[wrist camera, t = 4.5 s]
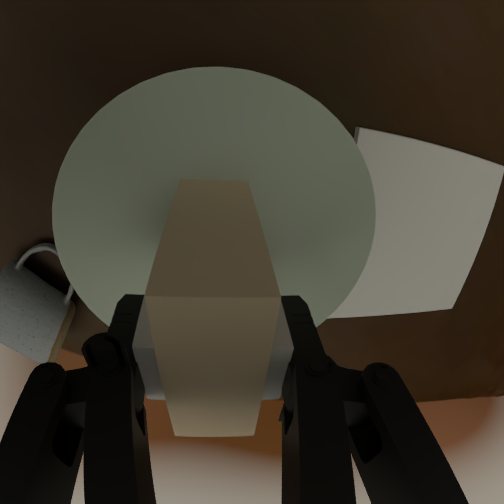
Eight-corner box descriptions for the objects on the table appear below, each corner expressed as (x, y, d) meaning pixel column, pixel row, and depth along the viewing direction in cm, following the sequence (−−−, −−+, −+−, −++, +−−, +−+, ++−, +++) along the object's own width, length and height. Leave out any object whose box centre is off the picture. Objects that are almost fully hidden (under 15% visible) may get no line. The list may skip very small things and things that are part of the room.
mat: (355, 126, 21) (359, 128, 21) (499, 164, 24) (505, 167, 23) (315, 313, 30) (317, 318, 30) (448, 304, 33) (451, 308, 32)
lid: (48, 81, 11) (-96, 116, 3) (392, 94, 13) (540, 138, 5) (93, 341, 20) (63, 456, 12) (329, 343, 22) (369, 454, 14)
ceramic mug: (67, 332, 29) (46, 386, 22) (8, 295, 26) (-23, 343, 19) (99, 265, 26) (71, 323, 19) (27, 219, 22) (-18, 265, 16)
